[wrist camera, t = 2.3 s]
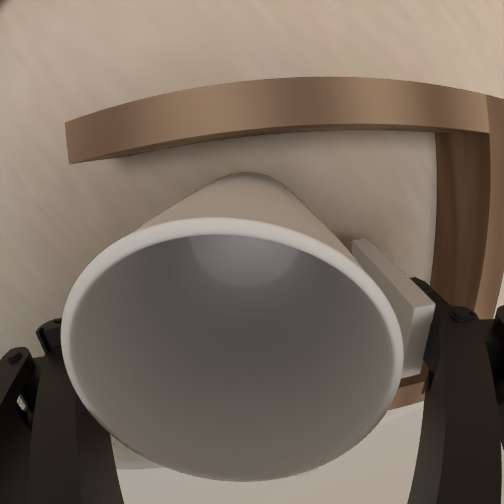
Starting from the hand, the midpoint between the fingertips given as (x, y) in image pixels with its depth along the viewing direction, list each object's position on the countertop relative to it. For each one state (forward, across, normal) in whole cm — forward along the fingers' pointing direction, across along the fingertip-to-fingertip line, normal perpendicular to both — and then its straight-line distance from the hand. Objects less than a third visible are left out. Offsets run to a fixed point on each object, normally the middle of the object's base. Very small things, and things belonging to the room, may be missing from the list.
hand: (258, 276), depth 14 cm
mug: (+3, 0, 0) cm, 3 cm away
